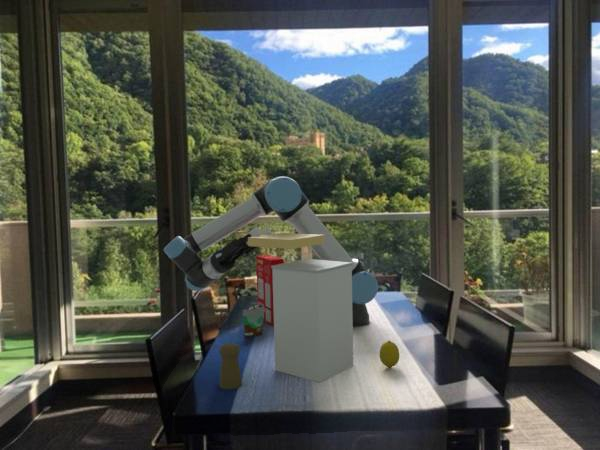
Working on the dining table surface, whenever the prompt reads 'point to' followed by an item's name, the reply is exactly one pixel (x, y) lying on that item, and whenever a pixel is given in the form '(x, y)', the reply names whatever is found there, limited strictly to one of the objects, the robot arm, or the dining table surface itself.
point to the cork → (230, 367)
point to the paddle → (283, 240)
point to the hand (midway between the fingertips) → (264, 230)
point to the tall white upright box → (313, 318)
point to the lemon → (389, 354)
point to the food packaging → (266, 284)
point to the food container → (253, 320)
